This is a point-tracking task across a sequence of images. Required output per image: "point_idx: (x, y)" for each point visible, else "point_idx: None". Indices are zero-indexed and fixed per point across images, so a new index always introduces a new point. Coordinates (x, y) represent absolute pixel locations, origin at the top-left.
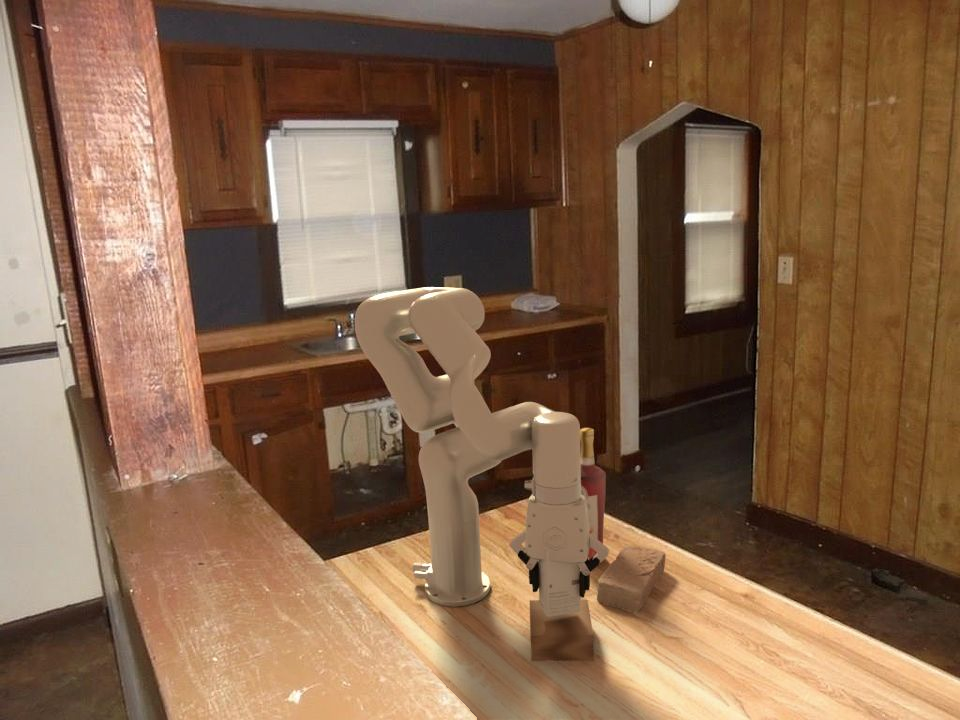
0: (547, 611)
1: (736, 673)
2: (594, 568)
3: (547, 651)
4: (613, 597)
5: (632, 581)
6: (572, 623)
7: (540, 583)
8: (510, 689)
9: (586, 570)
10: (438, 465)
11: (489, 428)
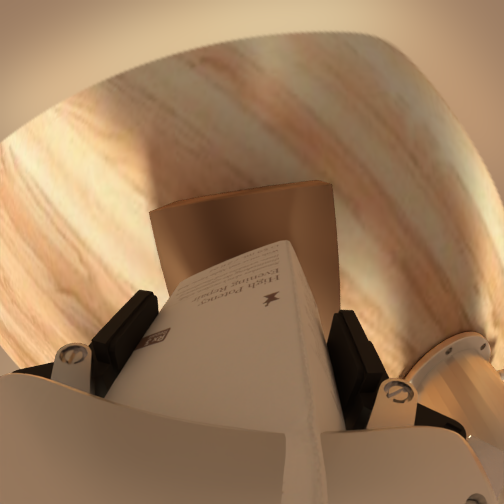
0: (285, 244)
1: (3, 216)
2: (42, 366)
3: (279, 186)
4: None
5: None
6: (211, 258)
7: (324, 343)
8: (347, 85)
9: (67, 360)
10: None
11: None
